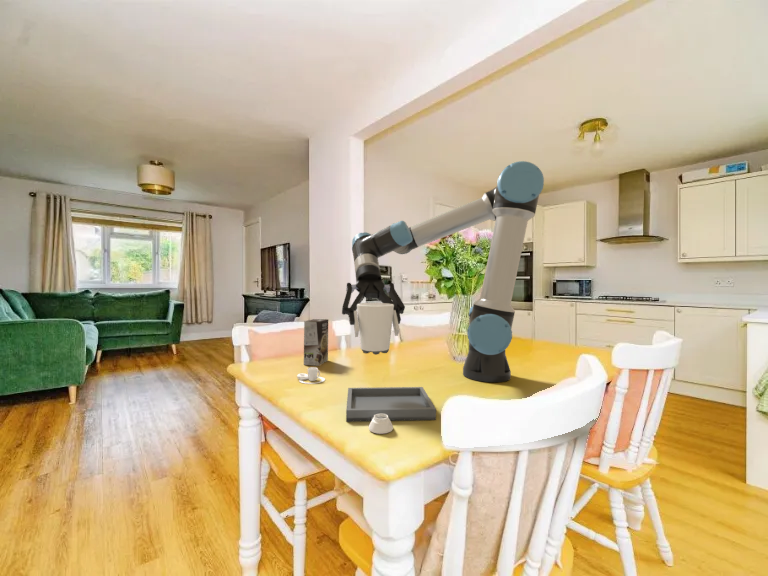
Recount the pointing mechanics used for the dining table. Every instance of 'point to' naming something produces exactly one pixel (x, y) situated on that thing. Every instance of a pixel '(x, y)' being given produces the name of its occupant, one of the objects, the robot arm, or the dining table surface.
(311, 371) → the teacup and saucer
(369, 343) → the cup
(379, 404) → the tray
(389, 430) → the lidless jar
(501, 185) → the robot arm
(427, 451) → the dining table surface
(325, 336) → the coffee box
